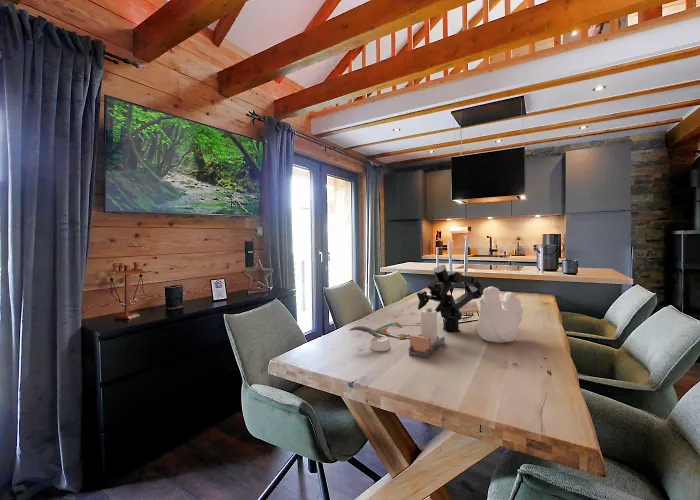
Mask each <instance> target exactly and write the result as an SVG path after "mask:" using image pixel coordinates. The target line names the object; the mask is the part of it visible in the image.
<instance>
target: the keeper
mask: <svg viewBox="0 0 700 500" xmlns="http://www.w3.org/2000/svg"><path fill="white" fill-rule="evenodd" d="M432 309H433V308H431V307H426V308H425V309H424V310H422V311H420V312H421V313H420V319H421V321H420V323H421V324H420V328H421V329H420V330H421V333H420V335H421V336H424V337H430V338H431V346H432V345H433V344H434V343H436V342H437V340H438V339H437V336H438V333H437V332H438V318H437V317H438V316H437V315H438V312H437V311H435V309H434V310H432Z"/></svg>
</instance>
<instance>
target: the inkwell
mask: <svg viewBox="0 0 700 500" xmlns="http://www.w3.org/2000/svg"><path fill="white" fill-rule="evenodd" d="M374 330H375V329H372V328H371V327H367V326H365V325H364V326H363V325H359V326H358V325H357V326H354V327H351V328H350V329H348V331H360V332H363V333H368V334H369V335H372V336H373V337H371V339H370V342H369V349H370V350H371V351H374V352H385V351H389V350H391V344H390V340H389V338H388V337H387V336H386V335H385V334H380V333H378V332H375V331H374Z"/></svg>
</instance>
